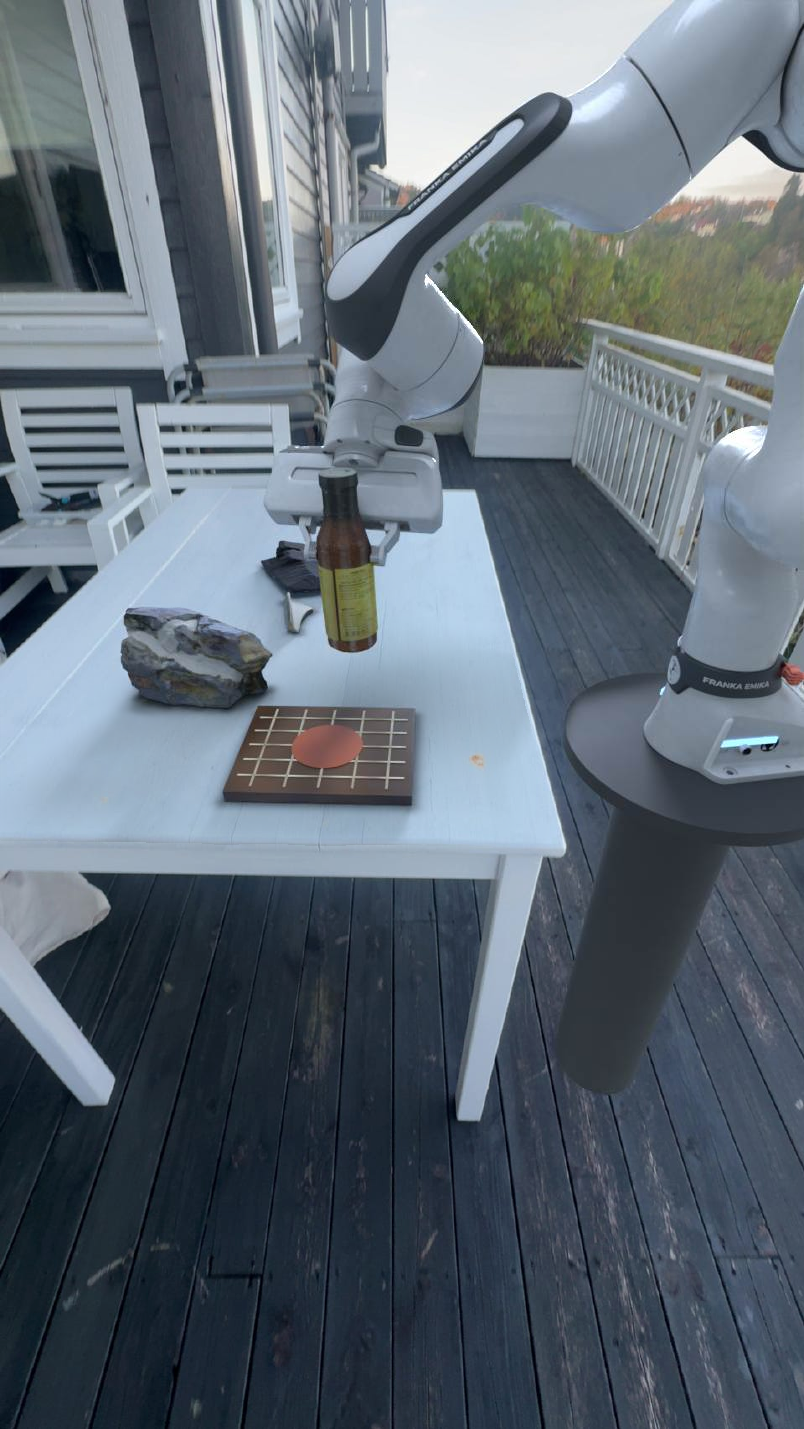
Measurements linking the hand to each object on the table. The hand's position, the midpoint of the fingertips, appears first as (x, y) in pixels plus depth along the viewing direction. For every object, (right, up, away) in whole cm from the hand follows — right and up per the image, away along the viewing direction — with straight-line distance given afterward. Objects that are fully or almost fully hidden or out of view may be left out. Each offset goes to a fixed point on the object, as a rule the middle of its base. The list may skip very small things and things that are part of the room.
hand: (344, 562), depth 69 cm
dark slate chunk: (-14, +11, +60) cm, 63 cm away
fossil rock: (-23, -15, +23) cm, 35 cm away
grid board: (-3, -22, +11) cm, 25 cm away
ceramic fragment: (-14, +1, +45) cm, 47 cm away
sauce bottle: (0, -8, +7) cm, 11 cm away
